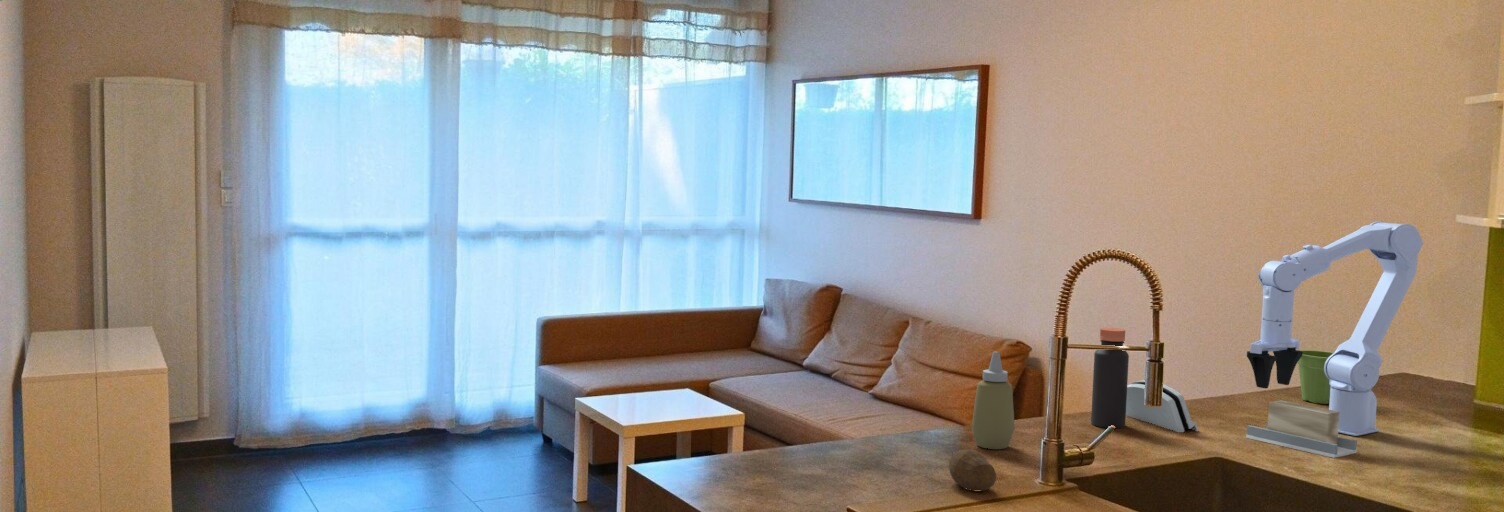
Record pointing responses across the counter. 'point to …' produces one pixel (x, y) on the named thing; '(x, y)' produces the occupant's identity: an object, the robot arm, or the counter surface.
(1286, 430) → the door panel
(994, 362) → the squeeze bottle
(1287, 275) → the robot arm
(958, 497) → the counter surface
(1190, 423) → the light blue curved block
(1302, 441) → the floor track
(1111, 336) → the dark grey water bottle
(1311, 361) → the plant pot
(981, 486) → the potato
